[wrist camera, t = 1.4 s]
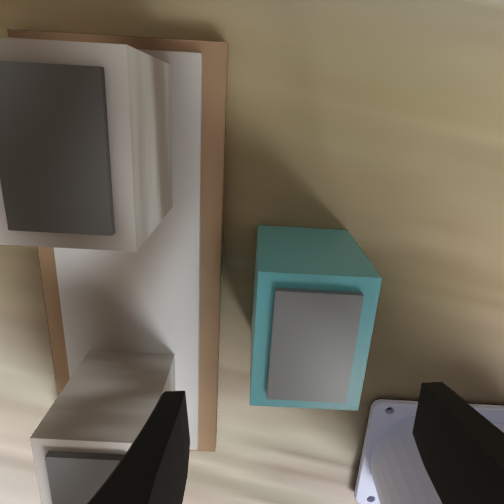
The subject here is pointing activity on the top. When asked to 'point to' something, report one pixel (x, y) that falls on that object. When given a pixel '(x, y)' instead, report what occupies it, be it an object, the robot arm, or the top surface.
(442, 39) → the top surface
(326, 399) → the module
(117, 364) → the board
